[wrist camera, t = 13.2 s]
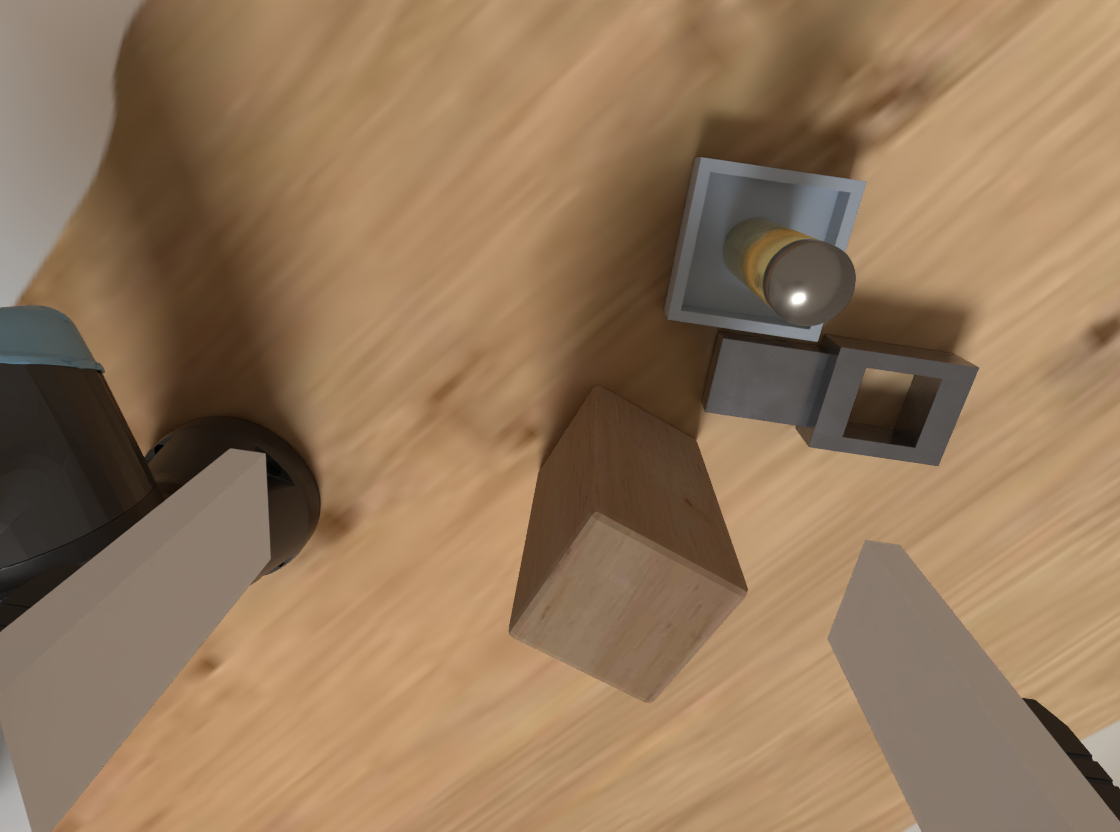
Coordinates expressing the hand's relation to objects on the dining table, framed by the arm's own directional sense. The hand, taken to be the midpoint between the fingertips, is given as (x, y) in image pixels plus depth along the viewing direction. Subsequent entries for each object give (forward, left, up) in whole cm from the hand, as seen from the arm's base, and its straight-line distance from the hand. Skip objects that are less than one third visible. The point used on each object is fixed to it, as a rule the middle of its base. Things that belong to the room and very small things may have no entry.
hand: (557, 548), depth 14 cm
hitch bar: (+20, -6, -36) cm, 42 cm away
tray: (+12, +3, -36) cm, 38 cm away
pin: (+12, +3, -36) cm, 38 cm away
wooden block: (+5, -15, -37) cm, 40 cm away
